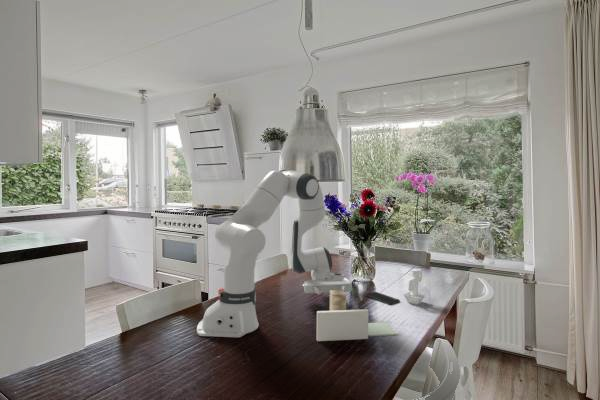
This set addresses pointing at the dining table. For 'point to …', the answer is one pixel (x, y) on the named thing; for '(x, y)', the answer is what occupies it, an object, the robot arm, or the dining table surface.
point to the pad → (380, 329)
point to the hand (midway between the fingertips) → (331, 292)
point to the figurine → (414, 288)
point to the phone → (382, 298)
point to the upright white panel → (342, 325)
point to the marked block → (337, 300)
